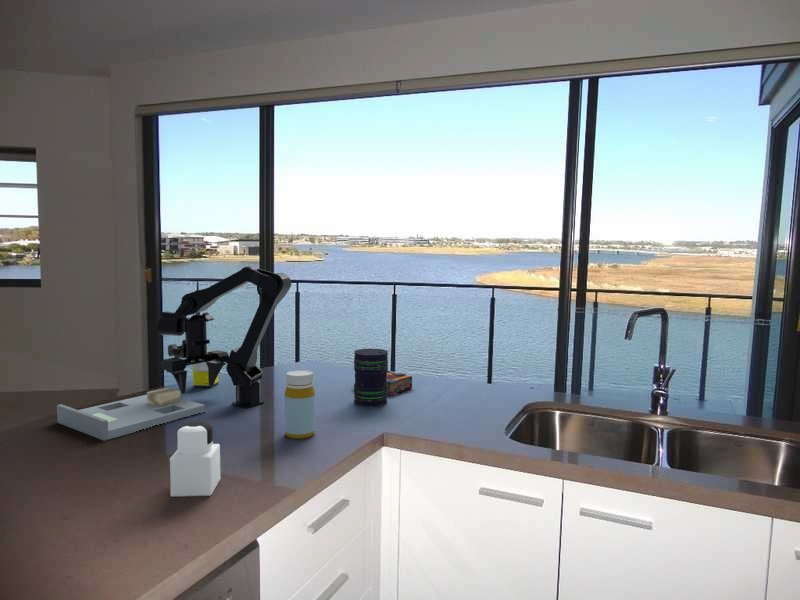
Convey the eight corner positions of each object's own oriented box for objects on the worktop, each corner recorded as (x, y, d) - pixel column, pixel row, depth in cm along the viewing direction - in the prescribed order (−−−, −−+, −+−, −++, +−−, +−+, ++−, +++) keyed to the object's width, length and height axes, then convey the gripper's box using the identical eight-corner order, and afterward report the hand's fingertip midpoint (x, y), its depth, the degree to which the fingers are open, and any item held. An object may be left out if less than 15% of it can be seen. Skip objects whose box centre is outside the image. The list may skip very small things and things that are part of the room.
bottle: (319, 431, 131) (319, 371, 129) (305, 441, 124) (305, 377, 123) (294, 428, 133) (294, 368, 132) (279, 437, 126) (278, 374, 125)
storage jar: (347, 404, 154) (347, 353, 153) (362, 396, 163) (363, 347, 162) (379, 408, 150) (379, 356, 149) (393, 400, 159) (393, 350, 158)
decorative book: (377, 381, 182) (377, 367, 182) (415, 390, 172) (416, 374, 172) (354, 388, 173) (354, 373, 173) (393, 397, 164) (393, 381, 163)
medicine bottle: (182, 480, 103) (180, 418, 101) (220, 479, 103) (219, 418, 102) (169, 497, 96) (167, 431, 94) (211, 496, 96) (209, 430, 95)
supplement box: (219, 383, 176) (218, 350, 175) (210, 388, 170) (210, 354, 169) (201, 383, 177) (200, 350, 176) (192, 387, 171) (192, 353, 170)
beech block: (180, 401, 148) (180, 390, 148) (160, 406, 143) (160, 395, 143) (167, 398, 151) (167, 387, 151) (147, 403, 146) (147, 392, 146)
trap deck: (205, 412, 145) (205, 395, 145) (104, 440, 123) (103, 421, 122) (157, 398, 157) (157, 383, 157) (57, 422, 135) (56, 405, 135)
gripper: (206, 330, 166) (207, 379, 168) (149, 337, 151) (150, 392, 152) (229, 333, 160) (230, 385, 162) (172, 341, 145) (174, 398, 146)
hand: (197, 390), depth 156 cm, fingers open, 9 cm apart
